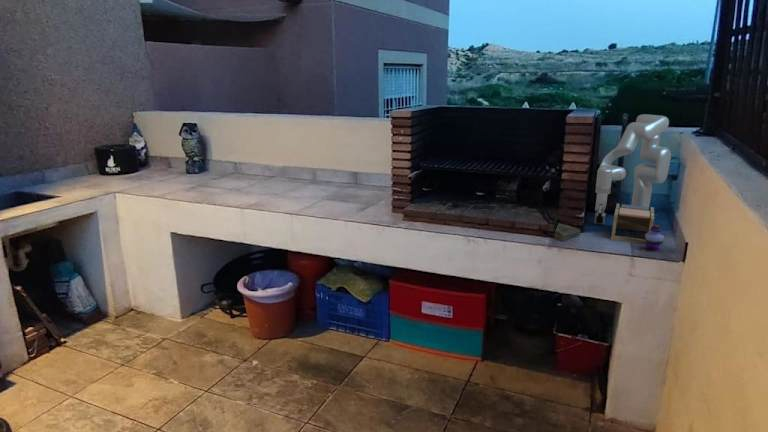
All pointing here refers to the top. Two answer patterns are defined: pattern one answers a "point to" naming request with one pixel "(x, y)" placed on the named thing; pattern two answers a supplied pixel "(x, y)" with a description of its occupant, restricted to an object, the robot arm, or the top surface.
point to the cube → (603, 218)
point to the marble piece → (566, 232)
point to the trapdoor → (634, 211)
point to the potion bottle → (654, 238)
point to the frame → (631, 225)
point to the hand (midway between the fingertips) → (599, 221)
